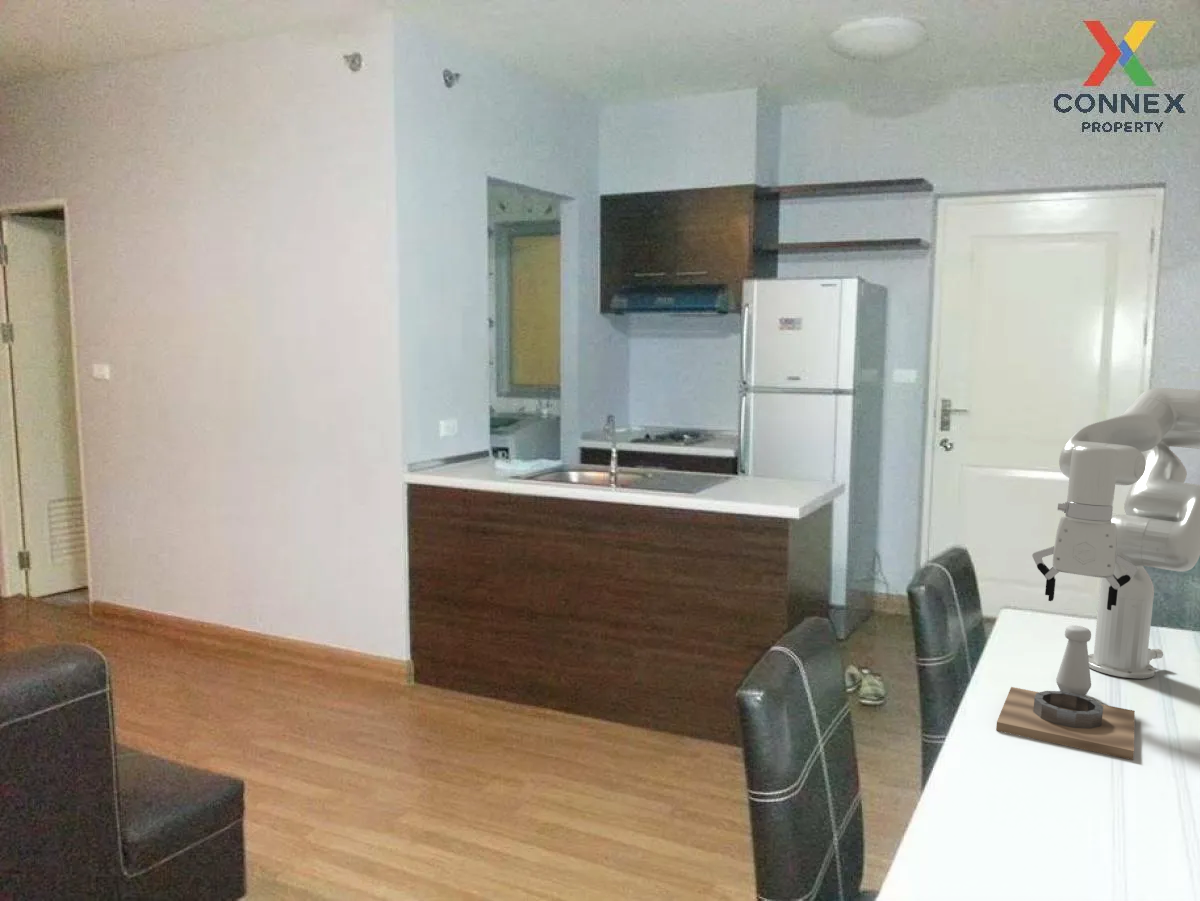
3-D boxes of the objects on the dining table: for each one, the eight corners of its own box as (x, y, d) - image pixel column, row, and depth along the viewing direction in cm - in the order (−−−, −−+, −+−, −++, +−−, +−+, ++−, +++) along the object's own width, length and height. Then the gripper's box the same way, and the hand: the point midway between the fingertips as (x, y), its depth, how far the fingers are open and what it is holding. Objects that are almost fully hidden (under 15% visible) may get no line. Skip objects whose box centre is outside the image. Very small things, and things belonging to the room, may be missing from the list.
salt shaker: (1093, 702, 171) (1100, 633, 170) (1060, 698, 172) (1066, 630, 171) (1084, 690, 177) (1090, 624, 176) (1051, 687, 178) (1057, 621, 177)
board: (1010, 694, 173) (1011, 686, 173) (1133, 718, 164) (1134, 710, 163) (996, 730, 156) (996, 721, 156) (1133, 760, 146) (1133, 751, 146)
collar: (1036, 700, 167) (1038, 686, 167) (1102, 713, 162) (1104, 699, 161) (1031, 719, 158) (1032, 704, 158) (1100, 733, 153) (1101, 718, 152)
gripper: (1035, 509, 172) (1026, 600, 173) (1143, 521, 163) (1133, 616, 165) (1038, 505, 178) (1030, 592, 180) (1143, 516, 170) (1133, 608, 171)
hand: (1079, 604), depth 172 cm, fingers open, 9 cm apart
